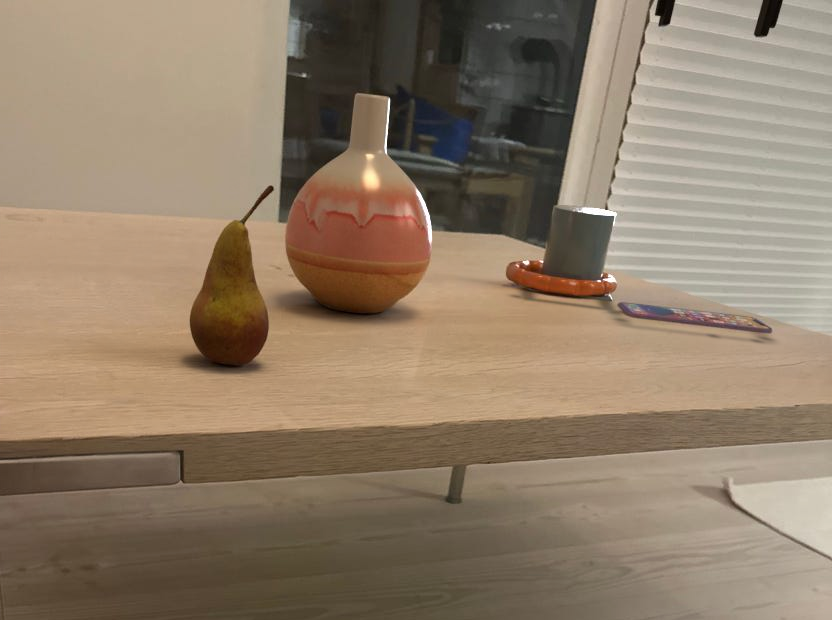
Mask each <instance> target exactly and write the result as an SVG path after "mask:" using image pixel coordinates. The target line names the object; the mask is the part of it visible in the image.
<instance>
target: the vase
mask: <svg viewBox="0 0 832 620" xmlns="http://www.w3.org/2000/svg"><path fill="white" fill-rule="evenodd" d="M390 105H391V99H390V97H389V96H385V95H378V94H369V93H359V92H357V93H355V95H354V100H353V109H352V119H351V127H350V128H351V129H350V138H349V143H348V148H347V149H346V150H345V151H343V152H342V153H341V154H339V155H338V156H337V157H334V158H333V159H331V160H330V161H329V162H327V163H326V164H325V165H324V166H322V167H320V168H319V170H317V171H316V172H315V173H313V175H312V176H311V177H310V178H309V179H308V180H307V181H306V182H305V184H304V185H303V186H301V188H300V189H299V191H298V193H297V194H296V197H295V198H294V200H293V201H292V205H291V206H290V210H289V213H288V218H287V221H286V226H285V233H284V237H285V238H284V246H285V253H286V257H287V261H288V263H289V266H290V268H291V270H292V272H293V274H294V276H295V277H296V279H297V280H298V282H299V283H300V284H301V285H302V286H303V287H304V288H305V289H306V290H307V291H308V292H309V294H310V295H311V297H312V298H313V299H314V300H315V302H317V304H319V305H320V306H323V307H325V308H328V309H331V310H333V311H334V310H335V311H340V312H345V313H352V314H377V313H383V312H386V311H388V310H390V309H391V308H393V307H394V306H395V305H396V303H397V302H399V301H401V300H403V298H405V297H406V296H408V295H409V294H410V293H411V292H413V290H414V289H415V288H416V287H417V286H418V285H419V283H420V282H421V281H422V280H423V278H424V276H425V274H426V272H427V270H428V268H429V264H430V262H431V259H432V258H431V257H432V251H433V229H432V222H431V217H430V212H429V210H428V208H427V205H426V204H427V203H426V202H425V200H424V198H423V196H422V194H421V192H420V191H419V189H418V188H417V186H416V184H415V183H414V182H413V181H412V180H411V179H410V177H409V175H408V174H407V173H406V172H405V171H404V170H403V169H402V168H401V167H400V166H399V165H398V164H397V162H395V161H394V160H393V159H392V158H391V157H390V156H389V154H388V153H387V141H388V129H389V116H390Z"/></svg>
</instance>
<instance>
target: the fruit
mask: <svg viewBox="0 0 832 620" xmlns="http://www.w3.org/2000/svg"><path fill="white" fill-rule="evenodd" d="M274 191H275V188H274V186H273V185H268V186H267V187H266V188H265V189H264V190H263V192H262V193H260V195H259V197H258V198H257V200H256V201H255V202H254V204H253V206H252V207H251V208H250V209H249V210H248V212H247V213H246V214H245V215H244V216H243V218H241V219H240V220H238V219H233V220H232V221H230V223H228V224H227V225H226V226H225V227H224V228H223V229H222V231H221V233H220V235H219V236H218V238H217V240H216V242H215V244H214V247H213V250H212V252H211V253H212V254H211V256H210V259H209V261H208V264H207V268H206V271H205V275H204V279H203V283H202V285H201V288H200V291H199V292H198V294H197V295H196V297H195V298H194V301H193V303H192V306H191V309H190V313H189V330H190V334H191V338H192V340H193V342H194V344H195V347H196V348H197V349H198V351H199V352H200V354H201V355H203V357H205V359H207V360H209V361H210V362H212V363H217V364H223V365H232V366H243V365H246V364H248V363H250V362H251V361H253V360H255V358H256V357H257V356H258V355H259V354H260V353H261V352H262V350H263V348H264V347H265V344H266V342H267V339H268V335H269V329H270V326H269V325H270V321H269V320H270V319H269V313H268V312H269V311H268V308H267V305H266V302H265V300H264V298H263V295H262V293H261V290H260V288H259V287H258V282H257V280H256V275H255V270H254V264H253V252H252V244H251V242H250V237H249V230H248V228H247V226H245V225H246V222H247V221H248V219H250V217H251V216H252V215H253V213H254V212H255V211H256V209H257V208H258V207H259V206H260V204H261V203H262V202H263V201H264V200H265V199H266V198H268V196H269V195H270V194H272V193H273V192H274Z"/></svg>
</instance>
